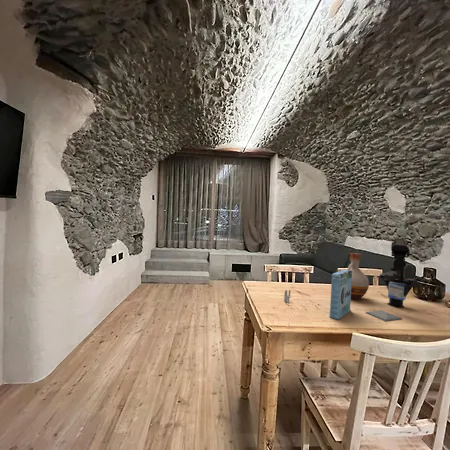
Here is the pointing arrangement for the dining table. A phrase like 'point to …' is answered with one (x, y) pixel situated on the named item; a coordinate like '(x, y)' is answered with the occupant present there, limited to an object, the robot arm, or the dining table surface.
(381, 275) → the robot arm
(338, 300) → the gum box
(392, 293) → the medicine box
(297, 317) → the dining table surface
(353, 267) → the jug
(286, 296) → the architectural model
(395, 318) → the slate board
